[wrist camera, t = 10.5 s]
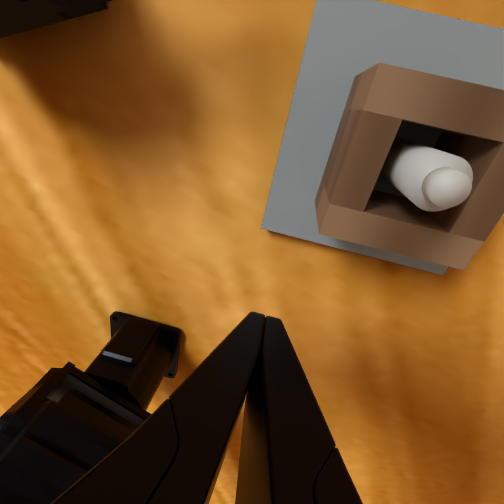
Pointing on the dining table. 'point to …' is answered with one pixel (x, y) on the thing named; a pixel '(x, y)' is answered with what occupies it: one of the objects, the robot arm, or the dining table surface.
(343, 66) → the grey peg base
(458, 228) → the hollow square sleeve
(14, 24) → the toy
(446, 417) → the dining table surface
